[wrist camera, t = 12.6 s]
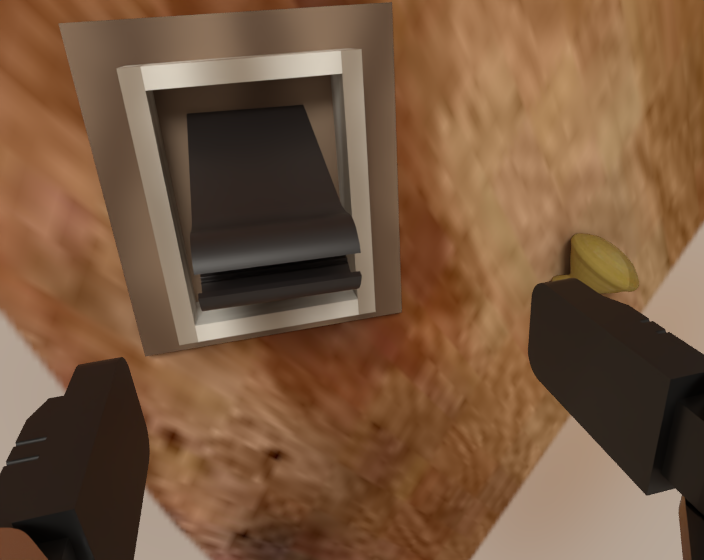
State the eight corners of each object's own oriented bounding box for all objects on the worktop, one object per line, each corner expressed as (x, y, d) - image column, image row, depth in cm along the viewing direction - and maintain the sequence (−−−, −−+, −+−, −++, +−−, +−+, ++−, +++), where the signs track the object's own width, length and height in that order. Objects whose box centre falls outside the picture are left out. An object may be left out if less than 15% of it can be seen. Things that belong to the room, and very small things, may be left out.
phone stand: (186, 112, 28) (172, 156, 17) (303, 103, 29) (357, 141, 18) (212, 273, 32) (213, 393, 21) (315, 260, 33) (366, 367, 22)
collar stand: (386, 3, 29) (411, -2, 25) (396, 305, 36) (417, 334, 33) (63, 24, 26) (40, 21, 22) (147, 347, 34) (139, 384, 30)
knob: (564, 218, 37) (613, 243, 32) (617, 246, 39) (669, 273, 34) (527, 278, 38) (569, 309, 34) (580, 302, 40) (626, 335, 36)
